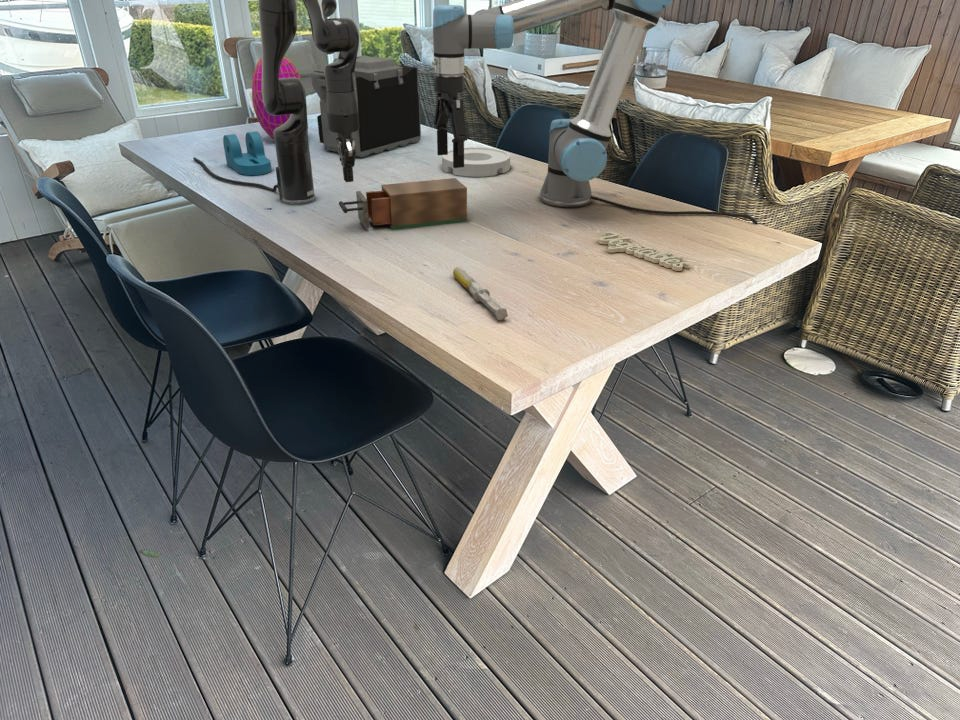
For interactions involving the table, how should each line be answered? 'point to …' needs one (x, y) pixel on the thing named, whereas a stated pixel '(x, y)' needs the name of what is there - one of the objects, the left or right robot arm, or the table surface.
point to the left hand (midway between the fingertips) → (348, 181)
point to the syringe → (479, 293)
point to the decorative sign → (642, 251)
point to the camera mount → (246, 154)
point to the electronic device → (377, 106)
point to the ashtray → (478, 162)
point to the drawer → (371, 208)
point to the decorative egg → (264, 118)
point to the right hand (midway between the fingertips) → (450, 161)
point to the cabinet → (426, 203)
